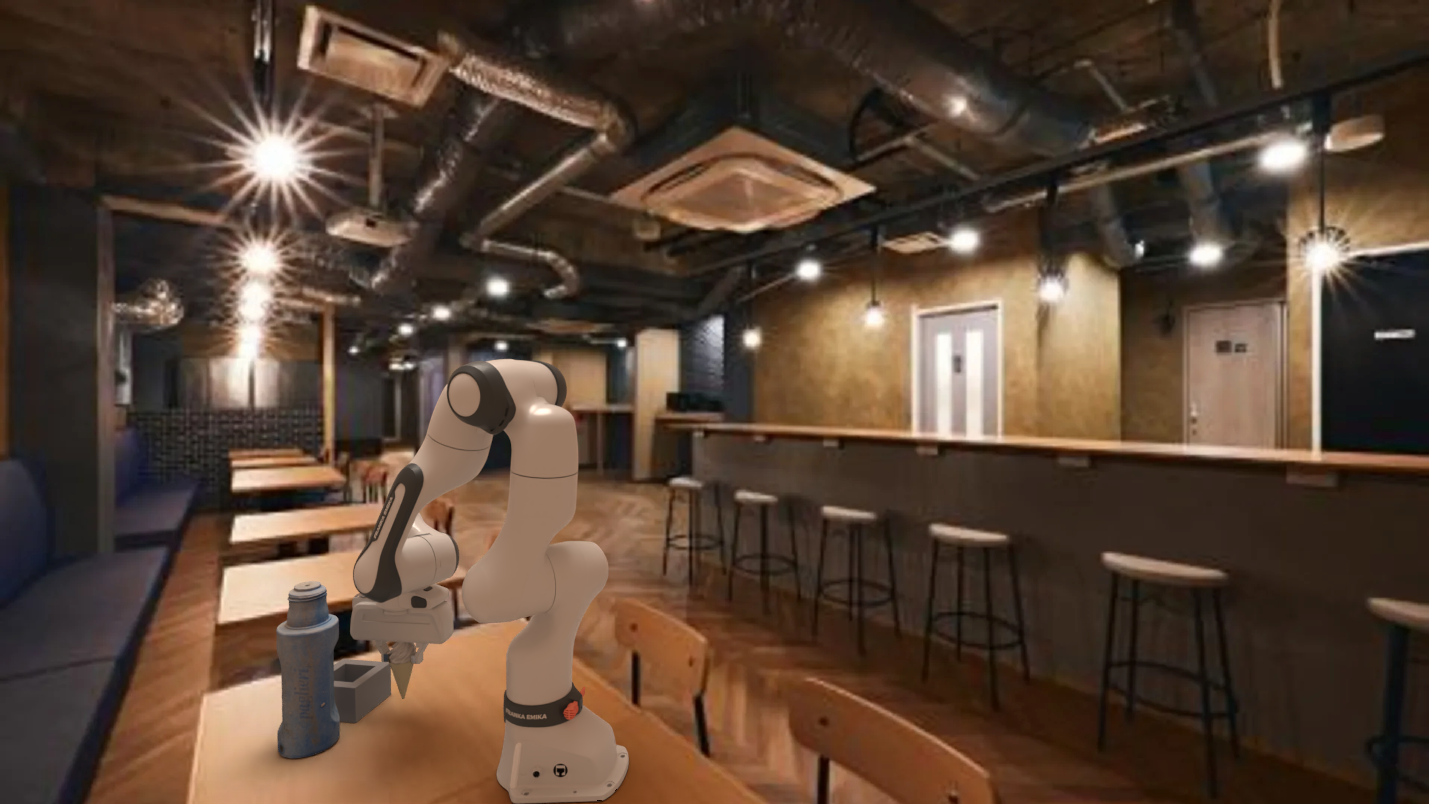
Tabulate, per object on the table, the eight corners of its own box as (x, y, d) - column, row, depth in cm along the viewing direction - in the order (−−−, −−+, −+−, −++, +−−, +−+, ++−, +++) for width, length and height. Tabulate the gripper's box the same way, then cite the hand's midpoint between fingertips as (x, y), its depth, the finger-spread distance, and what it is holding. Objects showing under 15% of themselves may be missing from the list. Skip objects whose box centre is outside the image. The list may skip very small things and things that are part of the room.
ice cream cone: (422, 692, 130) (420, 620, 129) (407, 705, 125) (406, 629, 124) (398, 691, 130) (397, 619, 130) (383, 704, 125) (381, 629, 125)
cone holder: (391, 694, 136) (390, 662, 135) (355, 723, 125) (355, 688, 124) (343, 690, 137) (343, 658, 137) (304, 718, 126) (303, 683, 126)
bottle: (284, 735, 120) (280, 579, 119) (344, 724, 124) (341, 573, 123) (271, 765, 112) (267, 596, 110) (336, 752, 115) (333, 589, 114)
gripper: (341, 596, 125) (343, 666, 125) (439, 601, 122) (440, 672, 123) (363, 586, 131) (365, 652, 132) (456, 590, 128) (458, 657, 129)
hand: (402, 661), depth 127 cm, fingers closed on ice cream cone, 5 cm apart
